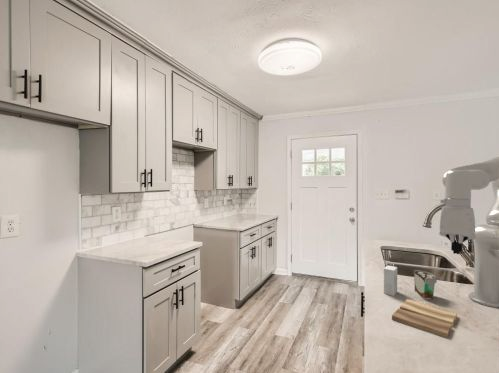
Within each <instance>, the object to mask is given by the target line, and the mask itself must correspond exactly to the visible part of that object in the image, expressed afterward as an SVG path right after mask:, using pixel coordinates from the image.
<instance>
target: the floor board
mask: <svg viewBox="0 0 499 373" xmlns="http://www.w3.org/2000/svg"><path fill="white" fill-rule="evenodd" d="M391 321H395V322H398V323H401V324H404V325H408V326H410V327H413V328H416V329H419V330H421V331H425V332H428V333H431V334H434V335H438V336H440V337H443V338H446V339H448V338H449V336H450V334H451V331H452V330H453V328H452V324H449V323H445V322H442V321H439V320H435V319H432V318H429V317H425V316H422V315H419V314H416V313H412V312H409V311H406V310H402V309H400V307H398V308H397V309H396V310H395V312H393V314H392V315H391Z"/></svg>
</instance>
